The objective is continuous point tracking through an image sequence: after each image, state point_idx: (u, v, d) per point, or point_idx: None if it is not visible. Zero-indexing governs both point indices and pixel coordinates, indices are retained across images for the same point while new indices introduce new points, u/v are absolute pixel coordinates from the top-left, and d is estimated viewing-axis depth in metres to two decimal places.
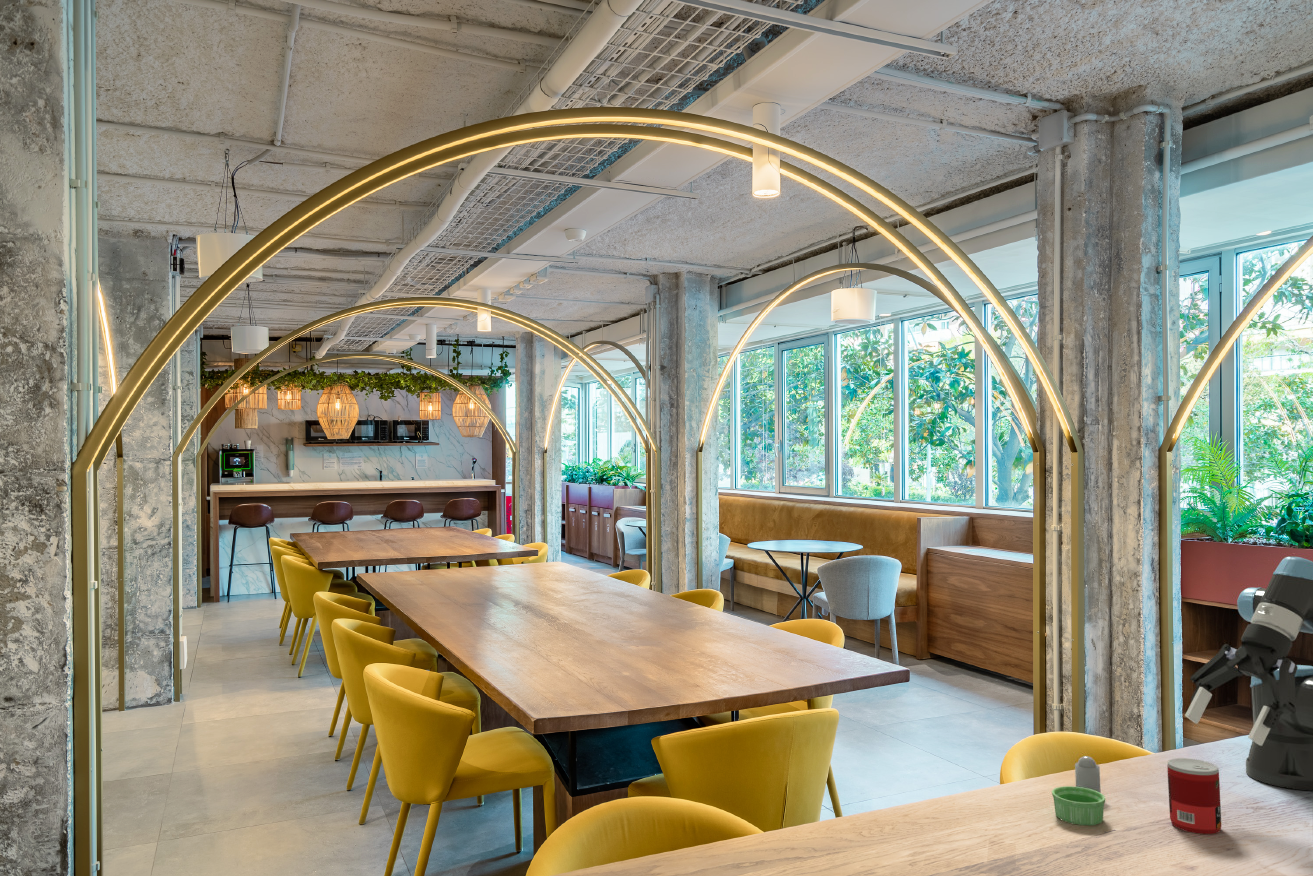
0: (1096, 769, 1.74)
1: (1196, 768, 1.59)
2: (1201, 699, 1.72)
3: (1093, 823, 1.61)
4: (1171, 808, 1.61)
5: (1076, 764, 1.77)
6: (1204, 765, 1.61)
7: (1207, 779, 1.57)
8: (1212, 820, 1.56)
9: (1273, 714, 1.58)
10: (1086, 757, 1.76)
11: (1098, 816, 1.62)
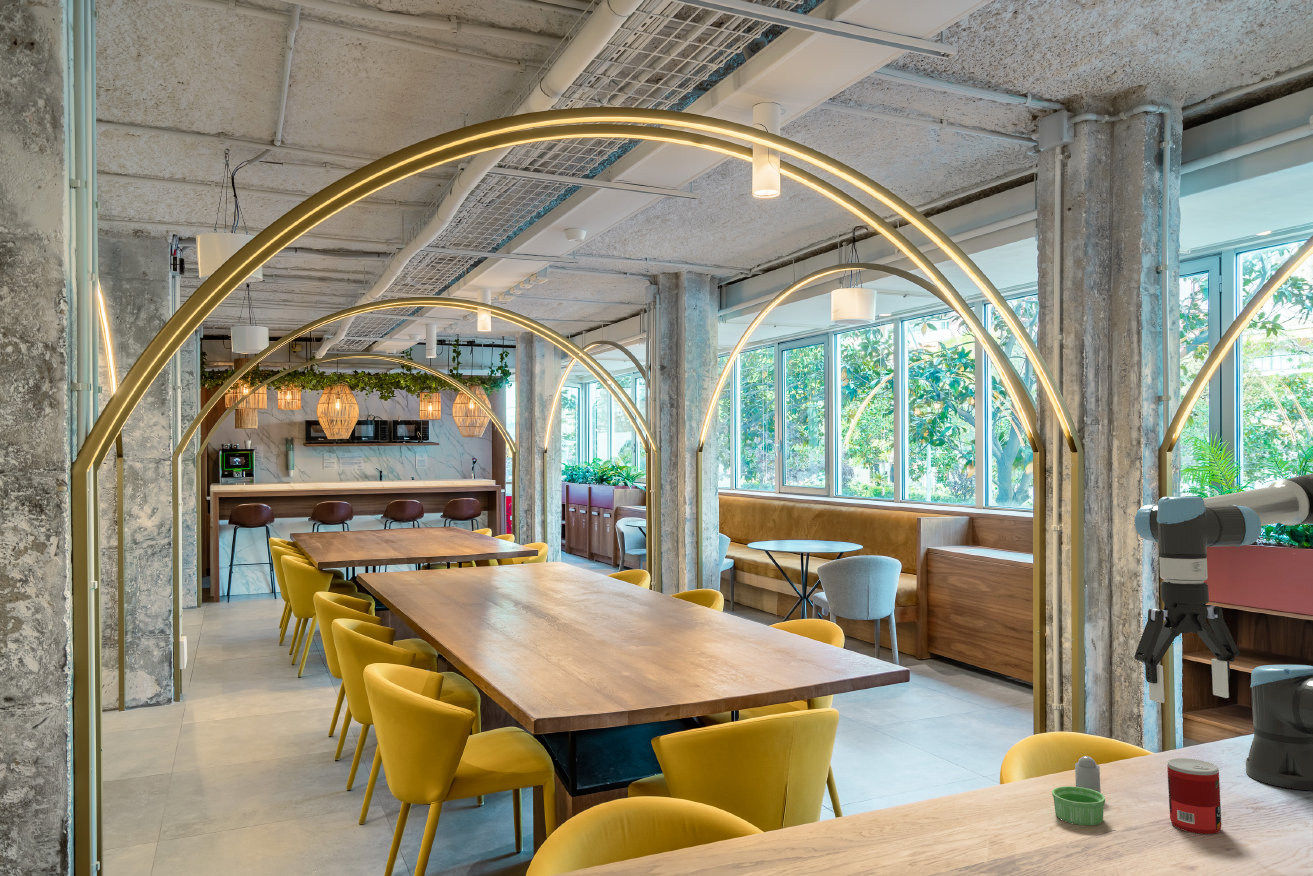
0: (1096, 769, 1.74)
1: (1196, 768, 1.59)
2: None
3: (1093, 823, 1.61)
4: (1171, 808, 1.61)
5: (1076, 764, 1.77)
6: (1204, 765, 1.61)
7: (1207, 779, 1.57)
8: (1212, 820, 1.56)
9: (1228, 665, 1.62)
10: (1086, 757, 1.76)
11: (1098, 816, 1.62)
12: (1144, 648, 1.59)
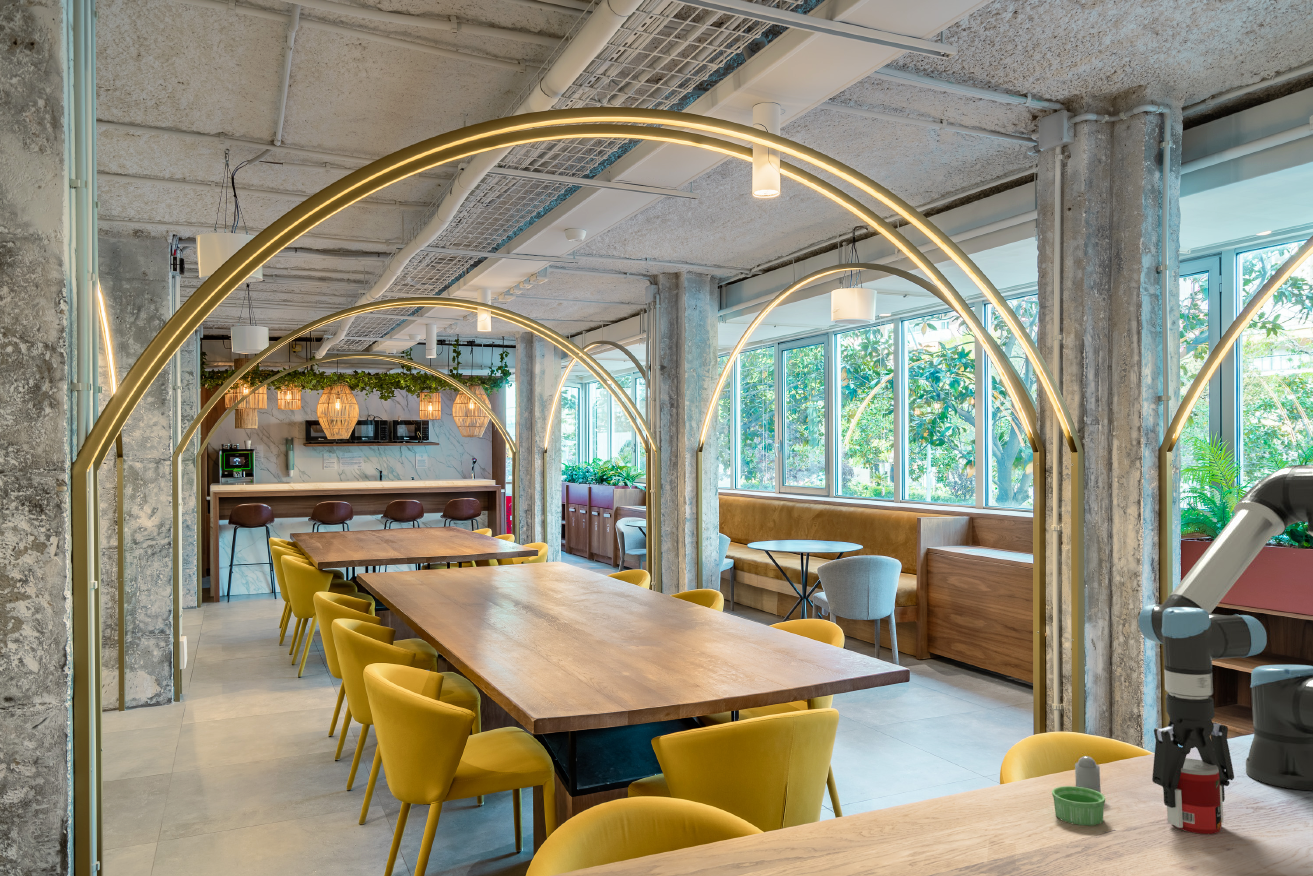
0: (1096, 769, 1.74)
1: (1196, 768, 1.59)
2: None
3: (1093, 823, 1.61)
4: None
5: (1076, 764, 1.77)
6: (1204, 765, 1.61)
7: (1207, 779, 1.57)
8: (1212, 820, 1.56)
9: (1223, 788, 1.61)
10: (1086, 757, 1.76)
11: (1098, 816, 1.62)
12: (1160, 772, 1.58)
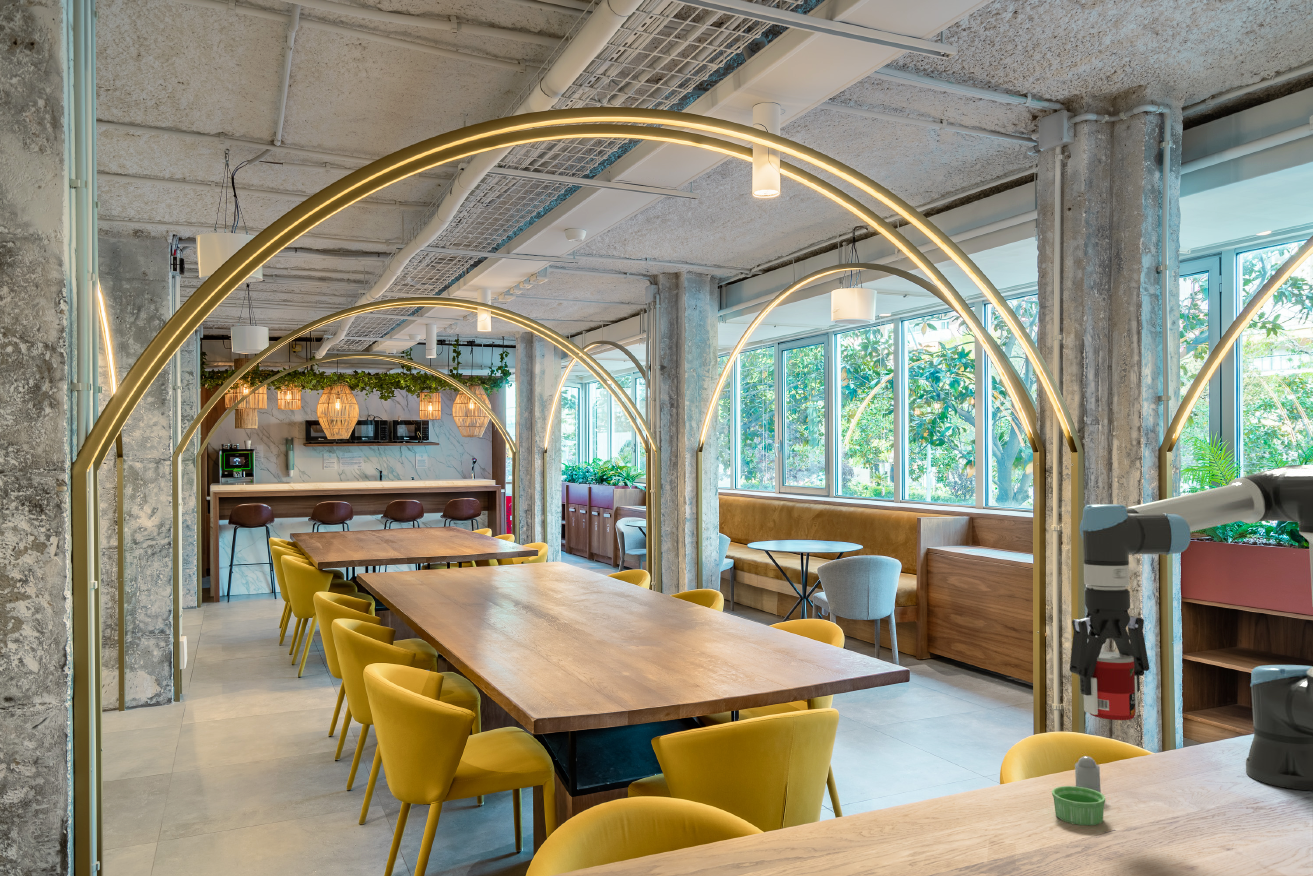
0: (1096, 769, 1.74)
1: (1112, 658, 1.64)
2: None
3: (1093, 823, 1.61)
4: None
5: (1076, 764, 1.77)
6: (1121, 656, 1.65)
7: (1121, 666, 1.61)
8: (1125, 706, 1.60)
9: (1138, 679, 1.65)
10: (1086, 757, 1.76)
11: (1098, 816, 1.62)
12: (1076, 661, 1.63)
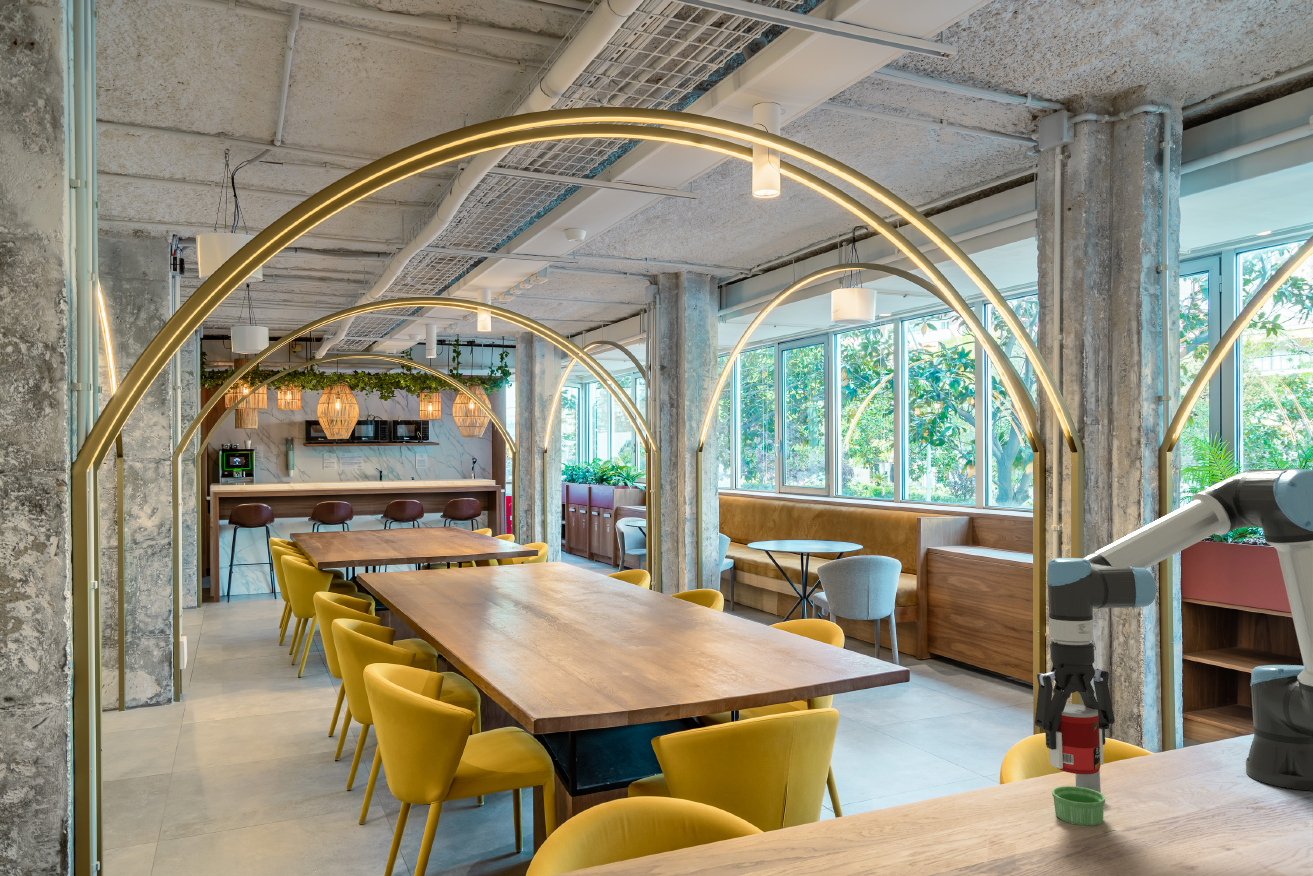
0: None
1: (1077, 712, 1.65)
2: None
3: (1093, 823, 1.61)
4: None
5: None
6: (1086, 709, 1.67)
7: (1085, 721, 1.62)
8: (1090, 761, 1.62)
9: (1104, 732, 1.66)
10: None
11: (1098, 816, 1.62)
12: (1041, 715, 1.64)
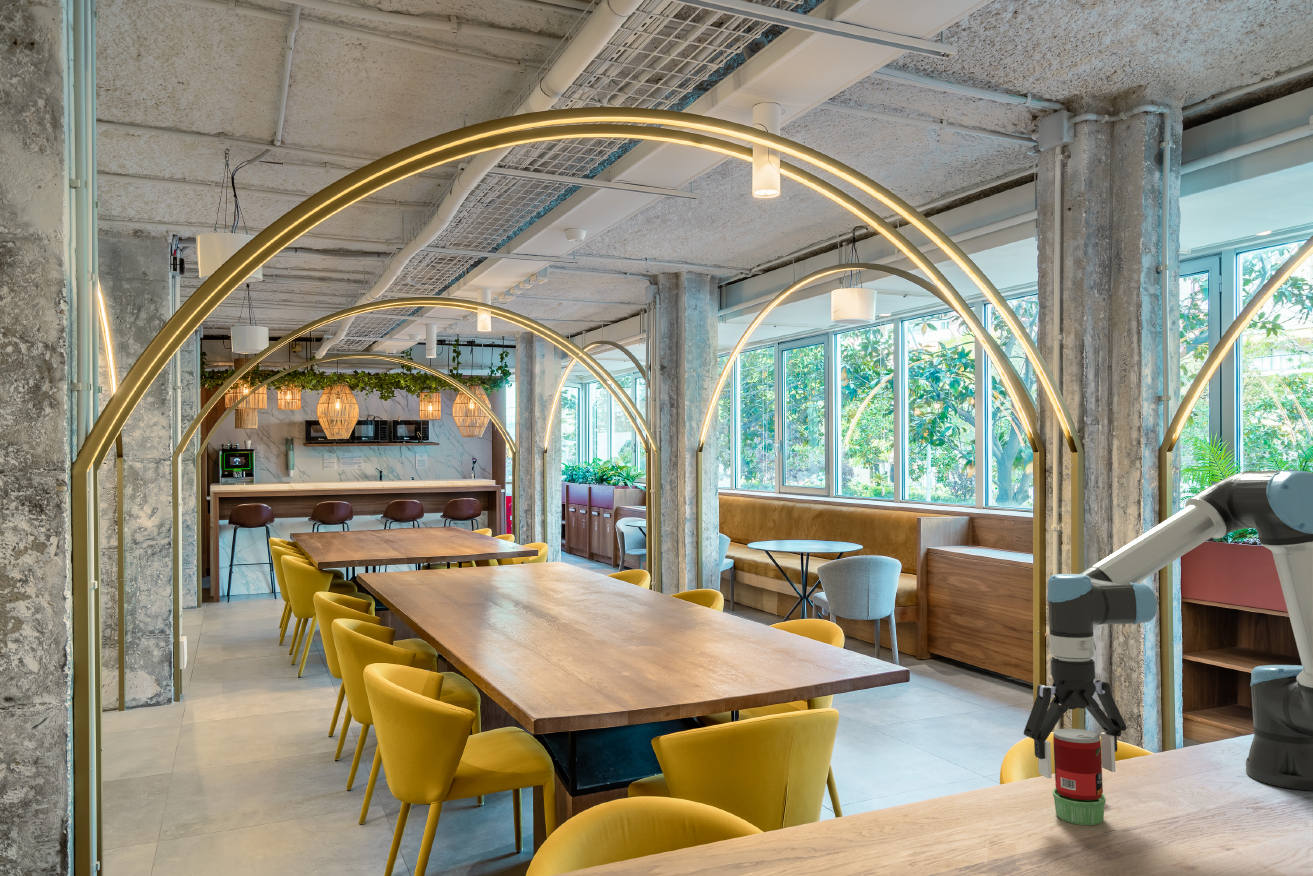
0: None
1: (1079, 737, 1.65)
2: None
3: (1094, 823, 1.61)
4: (1056, 776, 1.66)
5: None
6: (1088, 734, 1.66)
7: (1087, 747, 1.62)
8: (1092, 787, 1.62)
9: (1116, 739, 1.67)
10: None
11: (1099, 816, 1.62)
12: (1032, 725, 1.64)
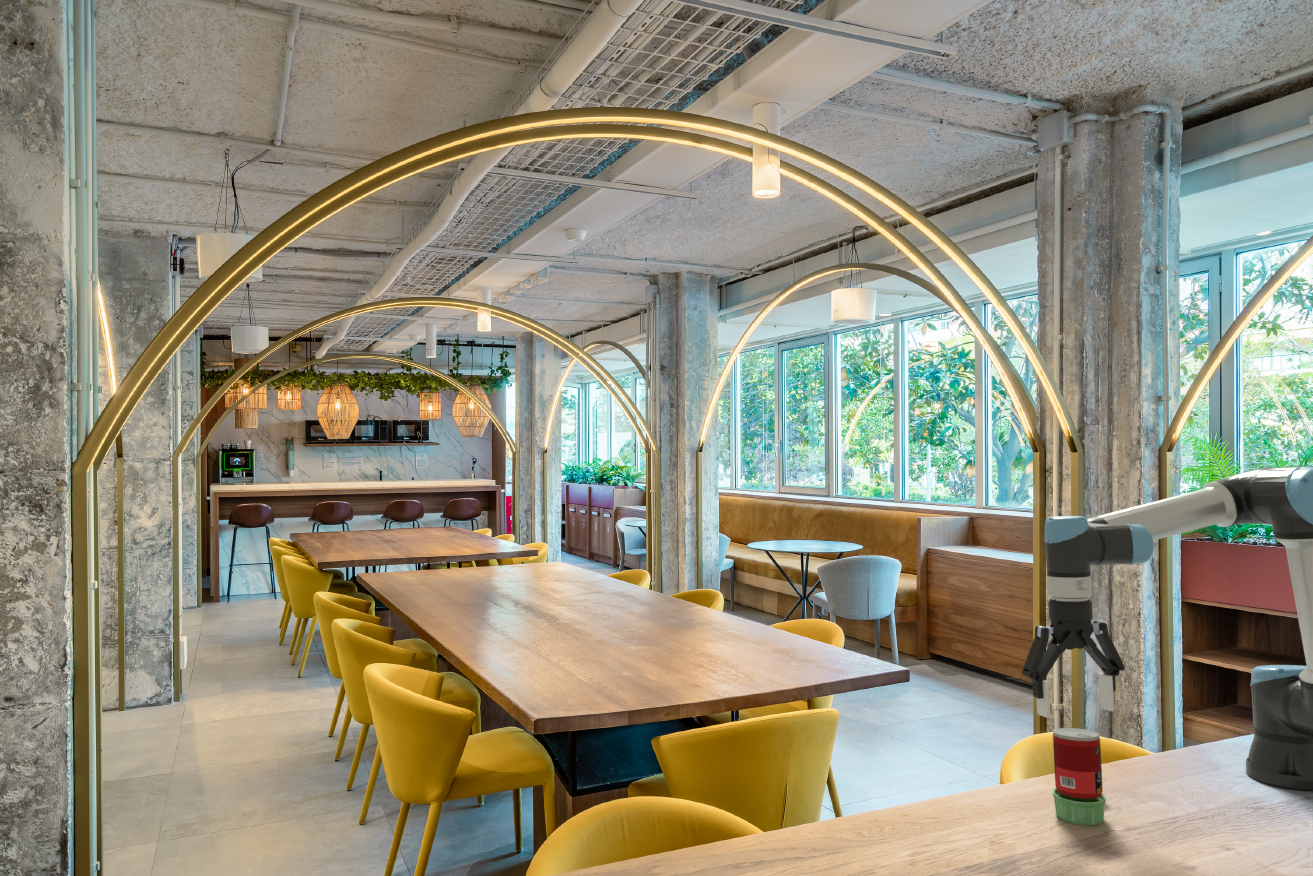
0: None
1: (1078, 735, 1.65)
2: None
3: (1094, 823, 1.61)
4: (1055, 775, 1.66)
5: None
6: (1087, 733, 1.67)
7: (1086, 745, 1.62)
8: (1091, 785, 1.62)
9: (1114, 679, 1.67)
10: None
11: (1099, 816, 1.62)
12: (1030, 664, 1.64)
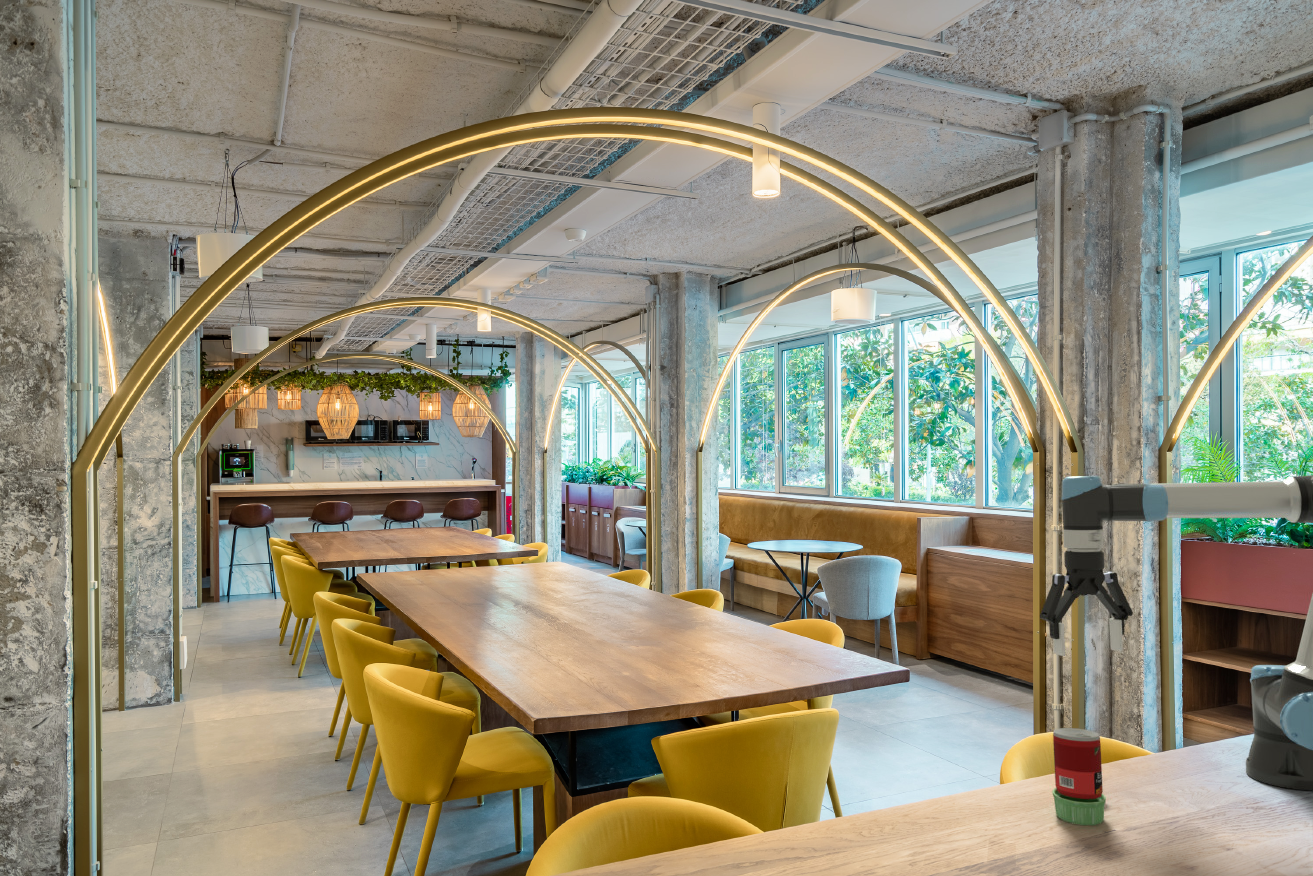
0: None
1: (1078, 735, 1.65)
2: None
3: (1095, 823, 1.61)
4: (1055, 774, 1.66)
5: None
6: (1088, 734, 1.67)
7: (1085, 745, 1.62)
8: (1090, 785, 1.62)
9: (1123, 623, 1.86)
10: None
11: (1099, 816, 1.62)
12: (1048, 608, 1.82)
